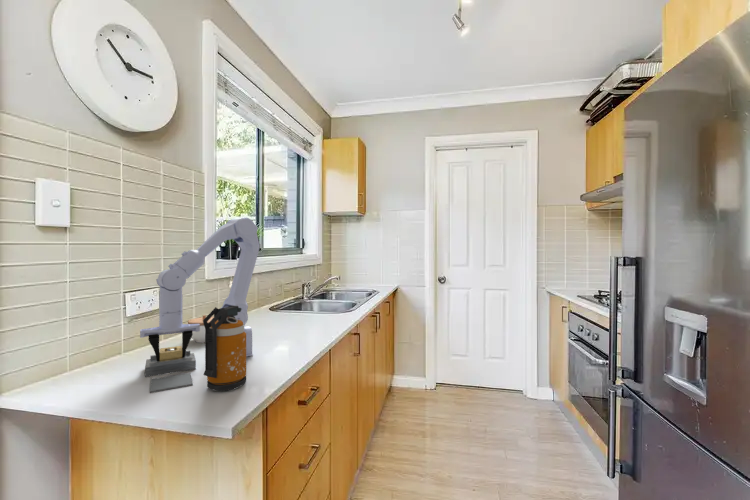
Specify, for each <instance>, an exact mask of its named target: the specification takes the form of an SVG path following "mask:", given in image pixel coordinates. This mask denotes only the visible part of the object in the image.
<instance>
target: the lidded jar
mask: <svg viewBox="0 0 750 500" xmlns="http://www.w3.org/2000/svg"><path fill="white" fill-rule="evenodd" d="M206 317H207V315H206V314H203V315H202V317H196V318H191V319H189V320H188V321H187V324H200V331H198V332H196V331H193V332H192V333H193V335H192V338H191V339H193V341H194V342H195V343H198V344H199V343H201V344H202V343H205V327H204V323H203V320H204V319H205V318H206ZM213 318H214V316H212V317H211V318H210V319H209V320H208V321H207V323H209V322H210V321H211V320H212V319H213ZM217 321H218V320H217Z"/></svg>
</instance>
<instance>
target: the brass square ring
mask: <svg viewBox="0 0 750 500" xmlns="http://www.w3.org/2000/svg"><path fill="white" fill-rule="evenodd" d="M168 349H175V350H173V351H167V350H168ZM159 351H160V361H164V360H171V359H178V358H182V345H179V346H177V345H176V346H170V347H163V348H161V347H159Z"/></svg>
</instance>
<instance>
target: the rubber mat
mask: <svg viewBox="0 0 750 500" xmlns="http://www.w3.org/2000/svg"><path fill="white" fill-rule="evenodd" d="M193 383H194V382H193V378H192V373H191V372H185V373H180V374H172V375H167V376H162V377H155V378H151V379H150V388H149V393H150V394H151V393H152V394H153V393H156V392H157V393H158V392H161V391H167V390H173V389H179V388H180V389H181V388H184V387H185V388H186V387H190V386H193V385H194V384H193Z"/></svg>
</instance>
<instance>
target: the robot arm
mask: <svg viewBox="0 0 750 500" xmlns="http://www.w3.org/2000/svg"><path fill="white" fill-rule="evenodd" d="M258 229H259V228H258V226H257V225H256V224H255V222H254V221H253V220H252V219H251V218H249V217H241V218H232V219H230V220H227V222H226V223H224V224H222V225H221V226H220V227H219V228H218V229H216V231H214V232H213V234H211V235H210V236H209V237H208V238H207V239H205V241H203V243H202V244H201V245H200V246H199V247H198V248H196V249H188V250H187V251H186V250H185V251H182V253H181V254H180V255H181V256H180V257H179V258H178V259H177V260H176V261H174V262H173V263H169V264H168V265H167V267H168V269H164V270H162V271H160V272H159V274H158V275H157V278H156V279H155V280H156V284H157V285H158V286H159V297H158V300H159V302H158V303H159V304H158V309H159V310H158V311H159V313H158V316H159V318H158V319H159V321H158V325H159V326H156V327H149V328H140V330H139V338H147V337H148V338H147V339H148V341H149V344H150V345H151V347H152V349H153V352H154V355H156V358H157V361H160V336H163V335H164V336H165V335H173V334H181V337H182V339H181V342H182V344H181V346H182V358H185V353H186V351H187V349H188V346H189V343H190V342H191V339H192V335H193V333H192V332H193V331H196V332H198V331H200V324H188V323H187V324H186V323H183V320H184V319H183V318H184V317H183V316H184V315H183V314H184V313H183V309H184V308H183V305H184V304H183V301H184V300H183V298H184V297H183V287H185V284H186V282H187V280H188V279H189V278H190V277H191V276H193V274H195V273H196V272H197V271H198V270H199V269H200V268H201V267H202V266H203V265H204V264H205V259H206V257H207V256H208V255H210V254H211V253H212V252H213V251H214V250H216V249H217V248H218V247H219V246H221V245H222V244H223V243H224V242H226V241H229V240H233V241H234V242H236V244H237V245H238V246H239V248H240V253H239V257H238V261H237V265H236V267H235V268H236V269H235V272H234V276H233V279H232V283H231V286H230V290H229V294H228V296H227V297H226V299H224V301H223V304H222V306H221V307H220V308H224V307H228V306H238V308H241V312H238V315H236V316H234V317H235V319H237V320H241V321H242V322H243V324H244V332H245V333H246V358H247V357H251V356H253V355H254V354H253V330H252V326H248V325H247V326H246V324H247V323H248V321H249V314H248V308H249V305H248V302H247V297H248V292H249V288H250V284H251V281H252V278H253V274H254V271H255V270H254V269H255V266H256V263H257V259H258V255H259V252H260V242H259V237H258Z"/></svg>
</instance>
